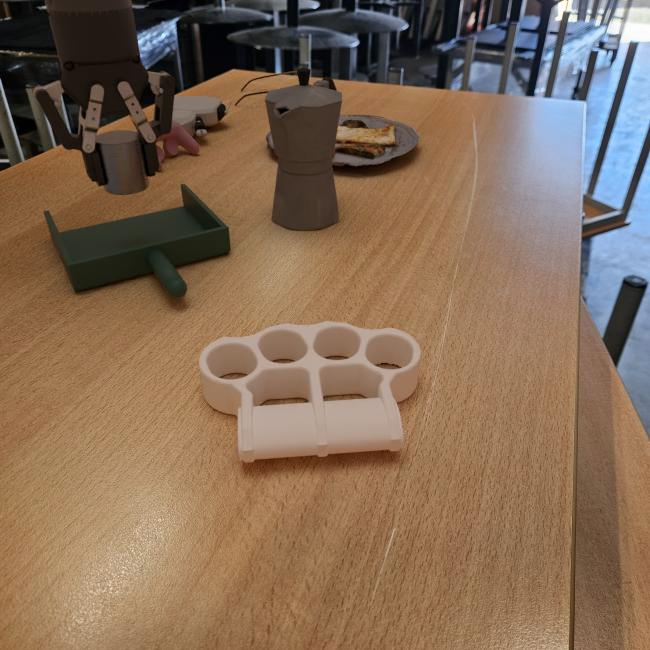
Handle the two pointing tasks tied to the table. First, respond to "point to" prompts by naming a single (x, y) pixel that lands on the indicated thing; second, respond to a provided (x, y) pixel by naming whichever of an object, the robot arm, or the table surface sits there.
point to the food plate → (368, 140)
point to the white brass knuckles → (312, 388)
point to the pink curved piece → (175, 142)
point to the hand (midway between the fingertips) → (125, 178)
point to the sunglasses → (260, 78)
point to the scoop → (142, 245)
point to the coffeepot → (304, 152)
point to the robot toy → (198, 113)
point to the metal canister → (122, 162)
